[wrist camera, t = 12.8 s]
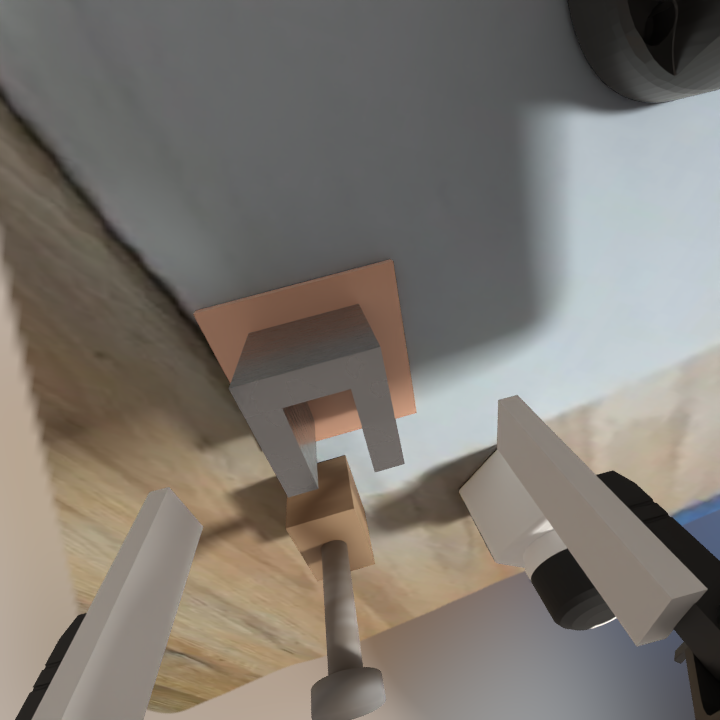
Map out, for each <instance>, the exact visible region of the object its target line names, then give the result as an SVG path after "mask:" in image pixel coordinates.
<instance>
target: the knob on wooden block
mask: <svg viewBox="0 0 720 720" xmlns="http://www.w3.org/2000/svg"><path fill="white" fill-rule="evenodd" d="M317 472H318V489H316V490H313V491H309V492H306V493H302V494H299V495H296V496H292V497H289V498H288V496H287V508H286V530H287V532H288V533H289V535H290V537H291V538H292V540H293V542H294V543H295V545H296V547H297V548H298V550H299V552H300V553H301V555H302V556H303V558H304V560H305V561H306V563H307V565H308V566H309V568H310V570H311V571H312V573H313V575H314V576H315V578H316V579H317V581H320V580H323V588H324V605H325V623H326V640H327V657H328V676H326V677H324V678H322V679H321V680H319V681H318V682H316V683H315V684H314V685H313V687H312V689H311V711H312V712H311V713H312V720H351V719H355V718H358V717H361V716H364V715H366V714H369V713H371V712H373V711H375V710H376V709H378V708H379V707H381V706H382V705H383V704H384V703H385V701H386V697H385V691H384V685H383V679H382V673H381V671H380V670H378V669H375V668H370V667H363V663H362V656H361V648H360V640H359V633H358V625H357V617H356V610H355V602H354V594H353V587H352V579H351V571H353V570H356V569H360V568H363V567H366V566H370V565H373V564H375V562H374V556H373V551H372V546H371V541H370V536H369V531H368V526H367V521H366V516H365V511H364V508H363V505H362V502H361V499H360V496H359V493H358V491H357V488H356V485H355V482H354V479H353V476H352V473H351V470H350V468H349V465H348V462H347V459H346V456H341V457H338V458H334V459H331V460H327V461H324V462H320V463H317Z"/></svg>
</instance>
